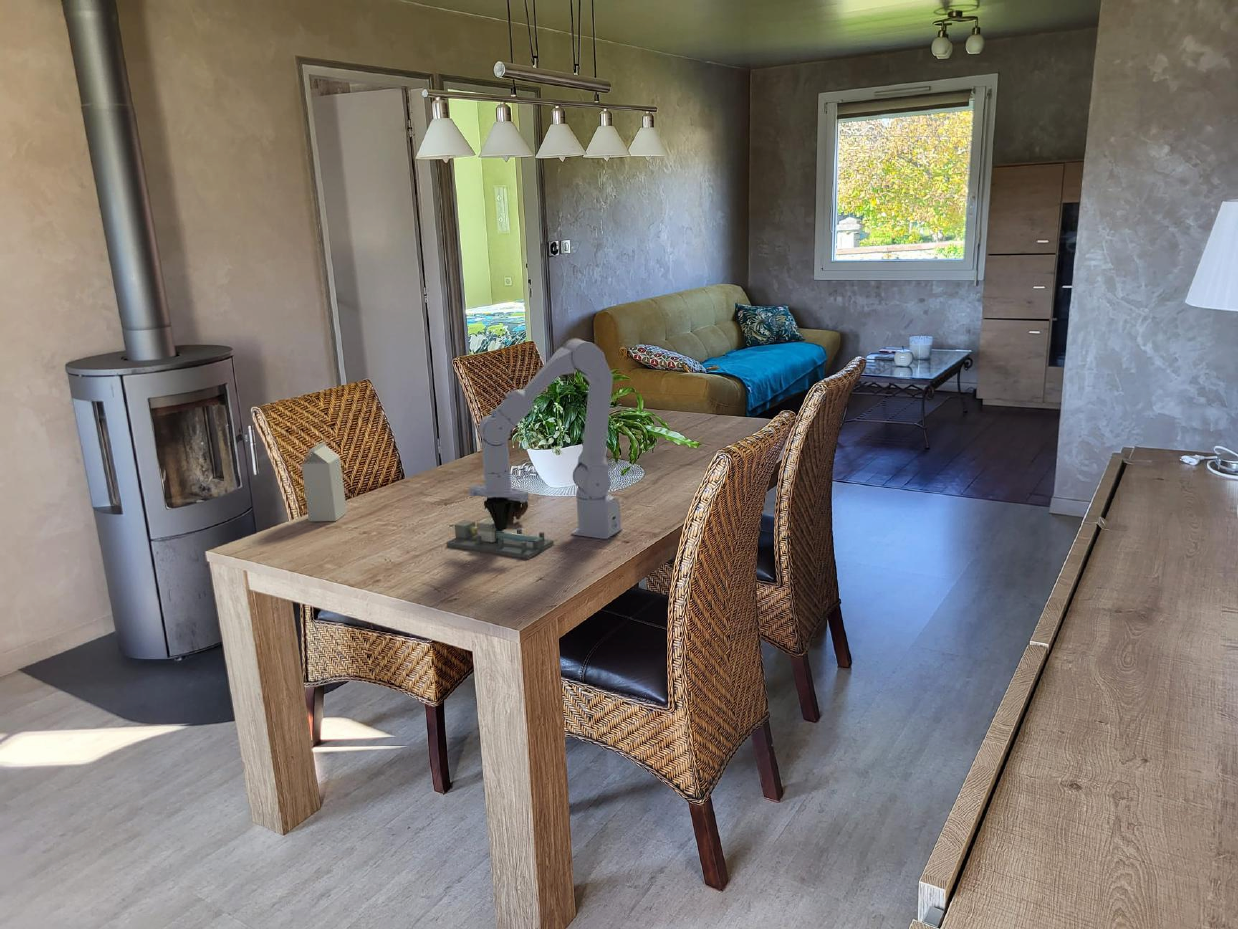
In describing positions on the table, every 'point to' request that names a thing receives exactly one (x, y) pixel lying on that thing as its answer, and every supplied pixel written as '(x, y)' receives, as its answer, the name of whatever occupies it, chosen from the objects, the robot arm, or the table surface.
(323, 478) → the milk carton
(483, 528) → the sleeve
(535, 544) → the miniature lathe model
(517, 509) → the pottery mug
